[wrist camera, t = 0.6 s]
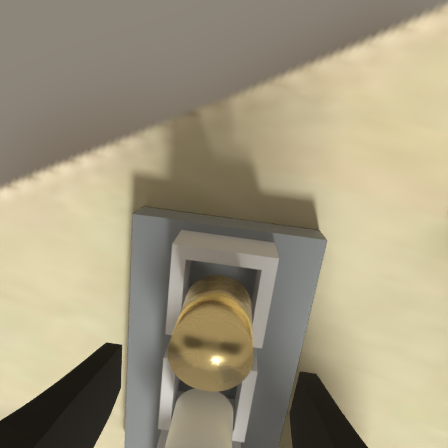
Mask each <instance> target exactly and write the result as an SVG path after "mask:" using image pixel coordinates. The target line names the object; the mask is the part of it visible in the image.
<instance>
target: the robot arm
mask: <svg viewBox="0 0 448 448" xmlns="http://www.w3.org/2000/svg"><path fill="white" fill-rule="evenodd" d="M121 366H122V345H119V344H113V343H105V344H104V345H103V346H101V347H100V348H99V349H98V350H96V351H95V352H94V353H93V354H92V355H90V356H89V357H88V358H87V359H86V360H84V361H83V362H82V363H81V364H79V365H78V366H77V367H76V368H74V369H73V370H72V371H71V372H69V373H68V374H67V375H65V376H64V377H63V378H62V379H60V380H59V381H58V382H56V383H55V384H54V385H52V386H51V387H50V388H48V389H47V390H45V391H44V392H43V393H41V394H40V395H38V396H37V397H36V398H34V399H33V400H31V401H30V402H29V403H27V404H26V405H24V406H23V407H21V408H20V409H18V410H16V411H15V412H13V413H12V414H10V415H9V416H7V417H5V418H4V419H2V420H1V421H0V448H94V446H95V444H96V442H97V440H98V438H99V436H100V434H101V432H102V430H103V428H104V426H105V424H106V422H107V420H108V418H109V416H110V414H111V412H112V409H113V407H114V404H115V402H116V399H117V396H118V394H119V391H120V389H121ZM290 424H291V435H292V445H293V448H368V447H367V446H366V444H365V443H364V442H363V441H362V439H361V438H360V437H359V435H358V434H357V433H356V431H355V430H354V428H353V427H352V426H351V424H350V423H349V421H348V420H347V419H346V417H345V416H344V414H343V413H342V412H341V410H340V409H339V407H338V406H337V404H336V403H335V401H334V400H333V398H332V397H331V395H330V394H329V392H328V391H327V389H326V388H325V386H324V385H323V383H322V382H321V380H320V379H319V377H318V376H317V374H314V373H307V372H300V373H299V377H298V381H297V385H296V389H295V394H294V398H293V402H292V406H291V410H290Z"/></svg>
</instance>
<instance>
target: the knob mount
mask: <svg viewBox="0 0 448 448" xmlns="http://www.w3.org/2000/svg"><path fill="white" fill-rule="evenodd" d="M326 243H327V239H326V238H325V237H324V236H323V234H322V233H321V232H320V230H314V229H306V228H299V227H292V226H284V225H277V224H269V223H262V222H255V221H247V220H240V219H232V218H225V217H218V216H210V215H203V214H196V213H188V212H181V211H173V210H166V209H159V208H151V207H144V206H143V207H142V208H140V209H139V210H137V211H136V212H135V213H133V220H132V249H131V277H130V306H129V335H128V363H127V392H126V420H125V448H165V444H166V440H167V436H168V432H169V429H170V425H171V421H172V417H173V413H174V409H175V405H176V402H177V400H178V398H179V397H180V396H181V395H182V394H183V393H185V392H186V391H188V390H191V389H194V388H193V387H191V386H189V385H187V384H186V383H184V382H183V381H181V380H180V379H179V378H178V377H177V376H176V374H175V373H174V372H173V370H172V369H171V366H170V364H169V361H168V346H169V343H170V340H171V337H172V334H173V331H174V329H175V326H176V323H177V320H178V317H179V315H180V312H181V309H182V306H183V304H184V301H185V298H186V295H187V293H188V291H189V289H190V288H191V286H192V285H193V284H194V283H195V282H196V281H198V280H200V279H201V278H204V277H207V276H211V275H223V276H227V277H230V278H233V279H235V280H236V281H238V282H239V283H241V284H242V285H243V286H244V287H245V289H246V290H247V292H248V294H249V296H250V299H251V309H252V334H253V365H252V369H251V371H250V373H249V374H248V376H247V377H246V378H245V380H243V381H242V382H241V383H240V384H238V385H237V386H235V387H233V388H231V389H228V390H224V391H218V392H220V393H221V394H223V395H224V396H225V397H226V398H227V399H228V400H229V401H230V403H231V405H232V408H233V433H232V448H278V447H279V443H280V438H281V434H282V430H283V426H284V421H285V417H286V413H287V409H288V405H289V400H290V396H291V392H292V388H293V383H294V379H295V375H296V371H297V366H298V362H299V358H300V354H301V349H302V345H303V341H304V337H305V332H306V328H307V324H308V320H309V316H310V311H311V307H312V303H313V299H314V294H315V290H316V286H317V282H318V277H319V273H320V269H321V265H322V260H323V256H324V252H325V248H326Z"/></svg>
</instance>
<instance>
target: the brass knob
mask: <svg viewBox="0 0 448 448" xmlns="http://www.w3.org/2000/svg"><path fill="white" fill-rule="evenodd" d="M168 361H169V364H170V366H171V369H172V370H173V372H174V373H175V374H176V376H177V377H178V378H179V379H180V380H181V381H183V382H184V383H186V384H187V385H189V386H191V387H193V388H196V389H199V390H203V391H210V392H217V391H224V390H228V389H231V388H233V387H235V386H237V385H238V384H240V383H241V382H242V381H243V380H245V378H246V377H247V376H248V374H249V373H250V371H251V369H252V365H253V334H252V309H251V299H250V296H249V294H248V292H247V290H246V289H245V287H244V286H243V285H242V284H241V283H239V282H238V281H236V280H235V279H233V278H230V277H227V276H223V275H211V276H207V277H204V278H201V279H200V280H198V281H196V282H195V283H194V284H193V285H192V286H191V288H190V289H189V291H188V293H187V295H186V298H185V301H184V304H183V306H182V309H181V312H180V315H179V317H178V320H177V323H176V326H175V329H174V331H173V334H172V337H171V340H170V343H169V346H168Z"/></svg>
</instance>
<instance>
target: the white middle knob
mask: <svg viewBox="0 0 448 448" xmlns="http://www.w3.org/2000/svg"><path fill="white" fill-rule="evenodd" d="M232 433H233V408H232V405H231V403H230V401H229V400H228V399H227V398H226V397H225V396H224V395H223V394H221V393H220V392H218V391H217V392H210V391H203V390H199V389H196V388H194V389H191V390H188V391H186V392H185V393H183V394H182V395H181V396H180V397H179V398H178V400H177V402H176V405H175V409H174V413H173V417H172V421H171V425H170V429H169V432H168V436H167V440H166V444H165V448H232Z"/></svg>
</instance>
